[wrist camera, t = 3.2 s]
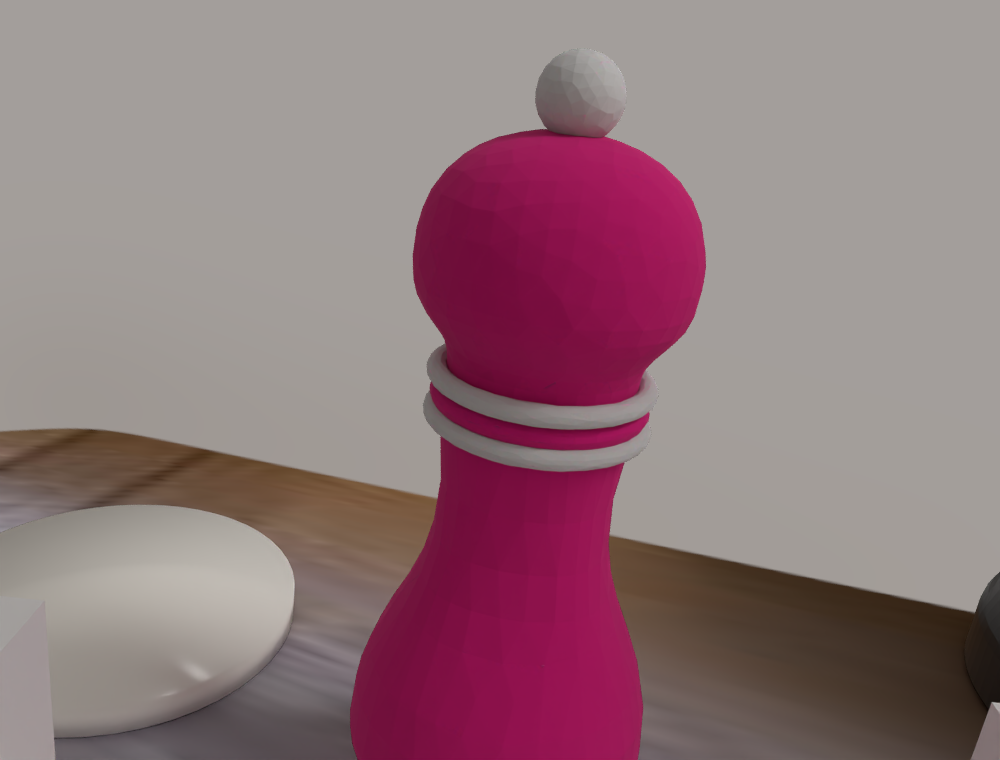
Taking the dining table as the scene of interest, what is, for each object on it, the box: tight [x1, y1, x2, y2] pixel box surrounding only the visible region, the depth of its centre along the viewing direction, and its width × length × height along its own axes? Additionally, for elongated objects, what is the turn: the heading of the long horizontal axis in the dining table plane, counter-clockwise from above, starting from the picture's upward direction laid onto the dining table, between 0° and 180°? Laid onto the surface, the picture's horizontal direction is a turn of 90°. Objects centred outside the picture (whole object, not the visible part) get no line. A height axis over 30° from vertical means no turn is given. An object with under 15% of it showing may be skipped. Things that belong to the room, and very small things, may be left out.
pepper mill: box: [350, 49, 706, 760], centre depth 21 cm, size 7×7×20 cm
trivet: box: [0, 505, 295, 738], centre depth 32 cm, size 12×12×1 cm
